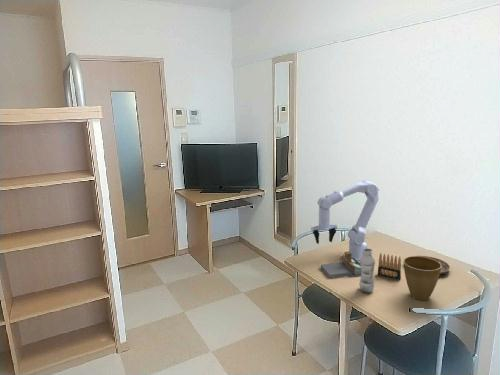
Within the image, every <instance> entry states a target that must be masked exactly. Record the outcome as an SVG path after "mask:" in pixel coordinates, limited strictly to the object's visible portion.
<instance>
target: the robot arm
mask: <svg viewBox="0 0 500 375" xmlns="http://www.w3.org/2000/svg"><path fill="white" fill-rule="evenodd" d="M379 192H380V189H379V186H378V185H377V184H376V183H374V182H371V180H370V181H369V179H363V180H362V181H358V182H357V183H355V184H354V185H351V186H350V187H348V188H345V189H344V190H342V191H339V190H334V191H333V192H332V193H330V194H326V195H325V196H321V197H319V198H318V200H317V205H318V225H315V226H311V227H310V231H311V232H312V233H313V235H314V239H315V243H316V244H317V245H319V243H320V240H319V239H320V231H328V235H329V236H328V240H329V242H330V243H332V242H333V240H334V236H335V235H336V233H337V230H338V225H337V224H330V222H331V220H330V219H331V217H330V216H331V214H330V213H331V212H330V211H331V210H330V208H331V207H332V206H333V205H336V204H338V203H340V202H342V201H343V200H344V198H345V197H348V196H351V195H353V194H356V193H362V194H364V196H365V197H366V201H365V203H364V205H363V208H362V209H361V212H360V214H359V217H358V219H357V220H356V223H355V224H354V225H352V228H350V229H349V231H348V232H347V237H348V238H349V243H348V244H349V245H348V251H349V252H350V253H352V258H353V257H354V258H355V259H357V260H358V261H360V259H361V257H362V256H363V255H364V254H363V252H364V249H369V248H368V244H367V243H366V241H365V240H366V234H367V233H366V228H367V225H368V223H369V221H370V219H371V217H372V215H373V213H374V210H375V208H376V206H377V205H378V201H379V199H380V198H379Z"/></svg>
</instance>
